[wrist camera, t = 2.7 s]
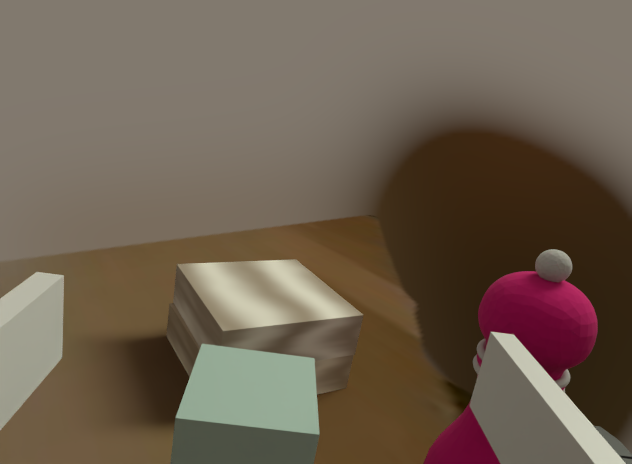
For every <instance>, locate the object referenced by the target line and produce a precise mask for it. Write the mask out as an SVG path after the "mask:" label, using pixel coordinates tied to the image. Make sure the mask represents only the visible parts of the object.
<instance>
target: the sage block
mask: <svg viewBox="0 0 632 464" xmlns="http://www.w3.org/2000/svg"><path fill="white" fill-rule="evenodd" d="M318 439H319V421H318V406H317V390H316V375H315V359H314V358H309V357H302V356H294V355H286V354H278V353H271V352H263V351H255V350H247V349H240V348H232V347H224V346H216V345H209V344H202V345H201V348H200V350H199V353H198V356H197V359H196V362H195V364H194V367H193V370H192V373H191V376H190V378H189V381H188V384H187V387H186V390H185V392H184V395H183V398H182V401H181V404H180V406H179V409H178V412H177V415H176V418H175V427H174V436H173V446H172V455H171V464H314V459H315V454H316V449H317V444H318Z"/></svg>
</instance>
